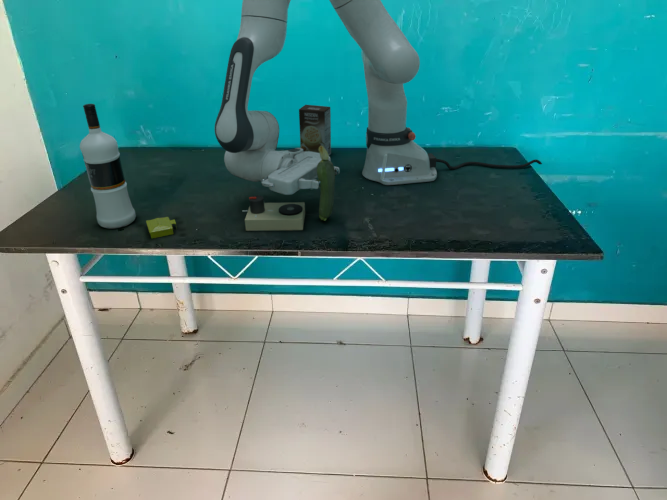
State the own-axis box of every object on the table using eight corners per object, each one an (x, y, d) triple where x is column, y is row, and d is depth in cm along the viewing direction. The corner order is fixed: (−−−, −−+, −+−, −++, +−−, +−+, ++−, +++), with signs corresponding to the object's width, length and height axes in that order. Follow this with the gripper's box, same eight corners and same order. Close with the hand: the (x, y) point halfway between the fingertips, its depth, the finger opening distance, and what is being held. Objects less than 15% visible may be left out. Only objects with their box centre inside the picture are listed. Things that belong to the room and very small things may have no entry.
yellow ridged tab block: (140, 225, 132) (138, 215, 130) (177, 218, 135) (175, 208, 134) (145, 242, 124) (143, 231, 122) (184, 234, 127) (182, 224, 126)
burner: (303, 205, 133) (303, 203, 133) (301, 215, 128) (301, 213, 128) (279, 205, 134) (279, 203, 133) (277, 215, 128) (277, 213, 128)
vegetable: (331, 216, 135) (329, 140, 125) (338, 222, 131) (337, 145, 121) (315, 219, 133) (312, 143, 123) (323, 226, 129) (320, 148, 120)
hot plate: (305, 212, 137) (304, 201, 135) (302, 230, 128) (302, 218, 126) (246, 213, 137) (245, 202, 135) (240, 230, 128) (238, 219, 127)
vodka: (131, 228, 130) (103, 108, 116) (93, 231, 130) (60, 110, 115) (140, 213, 138) (114, 98, 124) (104, 215, 138) (74, 100, 123)
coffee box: (299, 157, 175) (297, 109, 167) (306, 151, 180) (304, 104, 172) (325, 159, 172) (324, 110, 164) (332, 153, 177) (331, 106, 169)
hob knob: (265, 207, 133) (264, 194, 131) (263, 213, 129) (262, 200, 128) (251, 207, 133) (250, 194, 131) (249, 214, 129) (247, 200, 128)
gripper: (255, 170, 123) (306, 180, 117) (301, 145, 138) (348, 153, 132) (258, 195, 126) (307, 206, 120) (302, 168, 141) (348, 176, 135)
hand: (329, 178), depth 126 cm, fingers open, 8 cm apart
